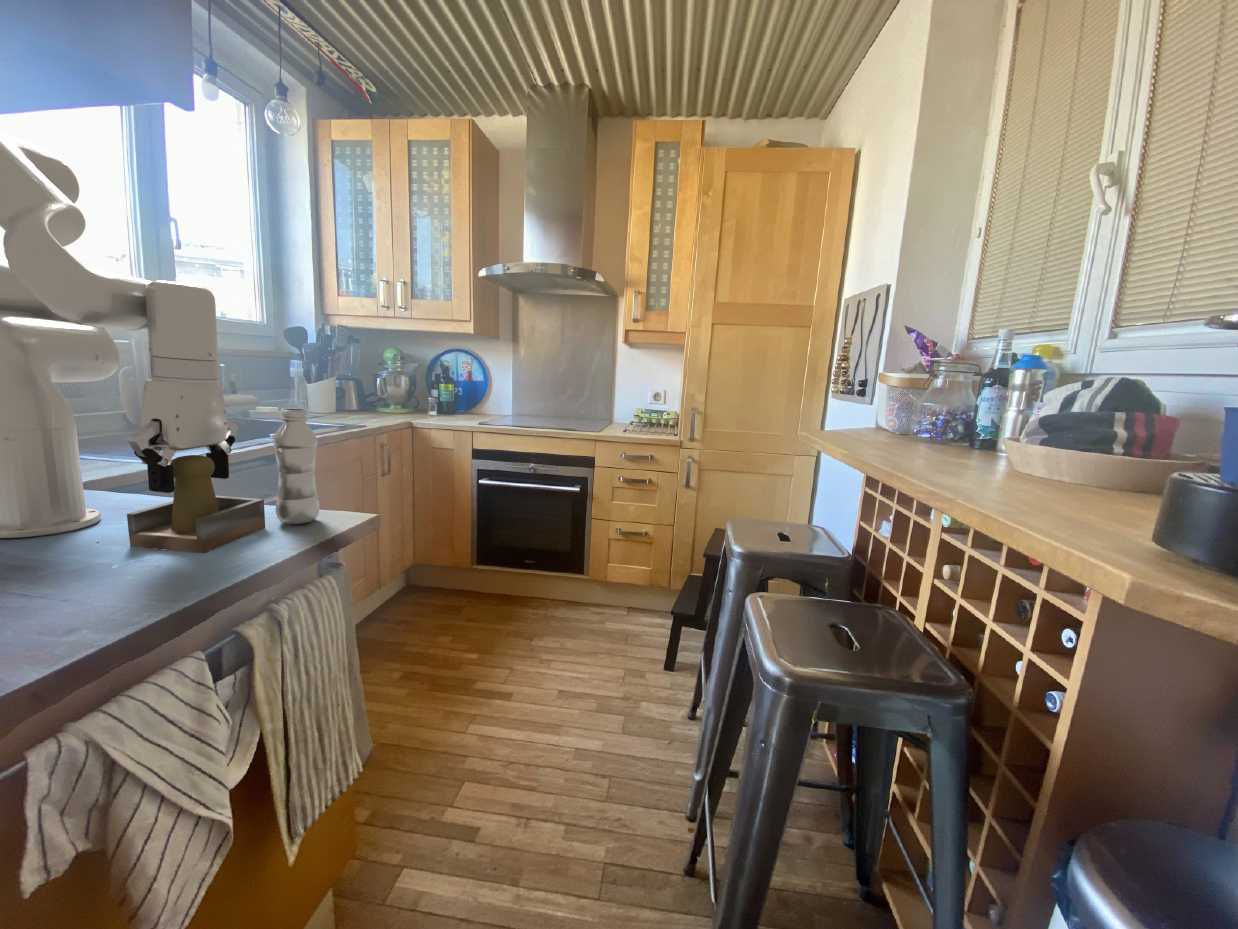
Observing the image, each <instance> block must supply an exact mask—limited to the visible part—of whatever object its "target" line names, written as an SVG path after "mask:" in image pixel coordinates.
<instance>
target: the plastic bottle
mask: <svg viewBox="0 0 1238 929" xmlns="http://www.w3.org/2000/svg"><path fill="white" fill-rule="evenodd" d="M307 412H308V411H307V409H304V408H290V407H289V408H281V410H280V414H281V416H280V421H282V424H281V425H280V426H279V428H278V429H277V431H276V432H275V434H274V436H273V439H272V444H273V449H274V454H275V458H276V459H275V460H276V466H277V471H278V474H277V475H278V484H277V490H278V491H277V498H276V502H275V514H276V518H277V519H278V521H279V522H280V523H282V524H286V525H299V524H306V523H311V522H313V521H315V520H316V519H317V518H318V516H319V513H320V501H319V497H318V494H317V486H316V478H315V477H316V476H315V473H316V471H315V469H316V456H317V449H318V446H317V445H318V438H317V435H316V433H315V432H314V431H313V430H312V428H311V427H310V426H309V425H308V424H307V421H308V420H309V418H308V413H307Z"/></svg>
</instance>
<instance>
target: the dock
mask: <svg viewBox="0 0 1238 929" xmlns="http://www.w3.org/2000/svg"><path fill="white" fill-rule="evenodd" d="M215 497H216V501H217V505H218V509H219V512H217V513H213V514H210V515H207V516H204V517H201V518H198V519H195V522H196V532H176V531H173V530H171V522H172V510H173V500H171V501H169V502H165V503H162V504H159V505H154V506H150V507H147V508H144V509H140V510H139V509H138V510H136V511H132V512H128V513H127V514H126V520H127V528H128V538H129V547H130V548H137V547H140V548H139V549H149V548H157V549H156V550H161V549H166V550H165V551H173V552H185V551H188V552H187V553H197V554H198V553H199V554H206V553H209V552H210V551H213V550H216V549H218V548H221V547H223V546H226V545H228V544H230V543H233V542H235V541H237V540H239V539H243V538H245V537H247V536H250V535H252V534H254V533H257V532H259V531H261V530H264V529H266V518H265V517H266V516H265V514H266V513H265V499H262V498H250V497H242V496H241V497H238V496H229V495H228V496H226V495H216V494H215ZM225 544H226V545H225Z"/></svg>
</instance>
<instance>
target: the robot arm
mask: <svg viewBox="0 0 1238 929" xmlns="http://www.w3.org/2000/svg"><path fill="white" fill-rule="evenodd" d="M79 196H80V185H79V181H78V179H77V177H76V175H75V173H74V171H73V170H72V169H71V168H70V166H69V165H68V164H67V163H66V162H65V161H64V160H63V159H61V158H60V157H58V156H57V155H56V154H55V153H52V152H51V151H49V150H47V149H45V148H42V147H40V146H38V145H36V144H33V143H31V142H27V141H25V140H23V139H20V138H17V137H15V136H12V135H9V134H7V133H5V132H2V131H0V227H1V228H2V229H3V230H4V231H5V232H4V233H3V234H4V235H3V239H2V240H3V243H2V245H3V246H2V247H3V252H4V253H3V254H4V256H5V257H3V256H0V539H13V538H14V539H15V538H17V539H18V538H29V537H39V536H40V537H41V536H47V535H55V534H60V533H66V532H71V531H74V530H75V531H76V530H78V529H82V528H86V527H89V526H91V525H94V524H96V523H98V522H99V521H100V520H101V518H102V516H101V511H99V510H97V509H94V508H88V507H87V506H86V500H85V491H84V483H83V476H82V468H81V460H80V459H81V458H80V450H79V442H78V441H79V440H78V436H77V435H78V434H77V428H76V427H77V426H76V421H75V413H74V411H73V408H72V407H71V404H70V403H69V401H68V400H67V398H65V396H64V395H63V394H62V392H61V391H60V390H59V389H58V387H57V386H55V384H54V383H83V382H85V383H86V382H87V383H88V382H96V381H102V380H106V379H107V378H109V377H111V376H112V375H114V374H115V373H116V371H117V370H118V368H119V366H120V352H119V349H118V347H117V345H116V343H115V341H114V339H113V337H112V336H111V334H110V333H109V332H108V330H107V329H112V330H124V331H131V332H141V333H145V332H146V333H147V340H148V351H149V352H148V353H149V355H148V356H149V368H150V378H151V379H150V378H149V379H148V378H147V379H145V383H144V386H143V392H142V395H141V396H142V397H141V407H140V408H141V409H140V410H141V411H140V428H139V429H137V430H136V431H134V432H133V433H131V434H130V435H128V436H127V438H126V441H127V442H128V444H129V445H130V447H131V448H132V450H133V453H134V455H135V456H136V457H137V458H139V459H140V460H141V463H142V464H143V465H146V467H147V478H148V480H147V481H148V490H149V491H150V492H154V493H163V494H167V493H168V494H171V493H174V490H175V478H174V470H173V465H170V463H171V461H172V460H173V457H174V455H175V454H176V453H177V451H179V452H180V451H186V450H192V449H198V448H204V447H205V448H206V449H207V450H209V451H208V452H205V453H206V455H205V456H207V457H209V458H211V459H212V461H213V462H214V467H215V469H214V472H213V474H212V475H211V476H210V477H211V479H220V480H222V479H223V480H227V479H229V477H230V466H229V465H230V464H229V459H230V458H229V454H231V453H232V446H233V445H234V443H235V442H236V435H237V434H238V429H239V424H236V423H235V422H232V421H231V420H229V419H228V418H227V411H226V408H227V407H226V404H225V402H226V401H225V397H224V396H225V395H224V392H223V388H222V385H221V382H220V379H219V378H220V377H219V376H220V375H219V371H220V367H219V358H218V335H217V334H218V332H217V329H218V328H217V311H216V309H217V308H216V306H217V305H216V298H215V296H214V294H213V292H212V291H210V290H209V289H208V288H206V287H203V286H200V285H195V284H190V283H189V284H188V283H184V282H177V281H168V280H153V281H151V280H147V279H143V278H138V277H137V278H136V277H132V276H127V275H123V274H118V273H114V272H108V271H104V270H98V269H92V268H88V267H86V266H84V265H83V264H82V263H81V262H79V260H77V259H76V258H75V257H74V256H73V255H72V254H71V253H70V252H69V251H68V250H67V249H65V247H67V246H69V245H71V244H72V243H74V242H76V241H77V240H78V239H80V238H81V237H82V236H83V233H84V232H85V231H86V230H85V229H86V220H85V217H84V214H83V212H82V211H81V210H80V209H79V208H78V207H77V206H76V205H75V203H77V201H78V200H79ZM161 451H162V453H161V454H160V452H161ZM86 507H87V508H86Z"/></svg>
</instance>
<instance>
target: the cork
mask: <svg viewBox="0 0 1238 929" xmlns="http://www.w3.org/2000/svg"><path fill="white" fill-rule="evenodd" d="M169 465H173V470H174V486H175V490H174V492H173V500H172V501H173V510H172V522H171V530H173V531H176V532H196V522H195V519H198V518H201V517H204V516H207V515H210V514H213V513H217V512H219V509H218V505H217V501H216V497H215V495H216V494H215V489H214V486H213V481H212V478H211V477H210V476H211V475H212V474H213V472H214V469H215V467H214V462H213V461H212V459H211V458H209V457H207V456H206V455H198V454H197V455H196V454H191V455H190V454H188V455H182V456H177V457H174V458H172V459H171V460H170V462H169Z"/></svg>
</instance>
